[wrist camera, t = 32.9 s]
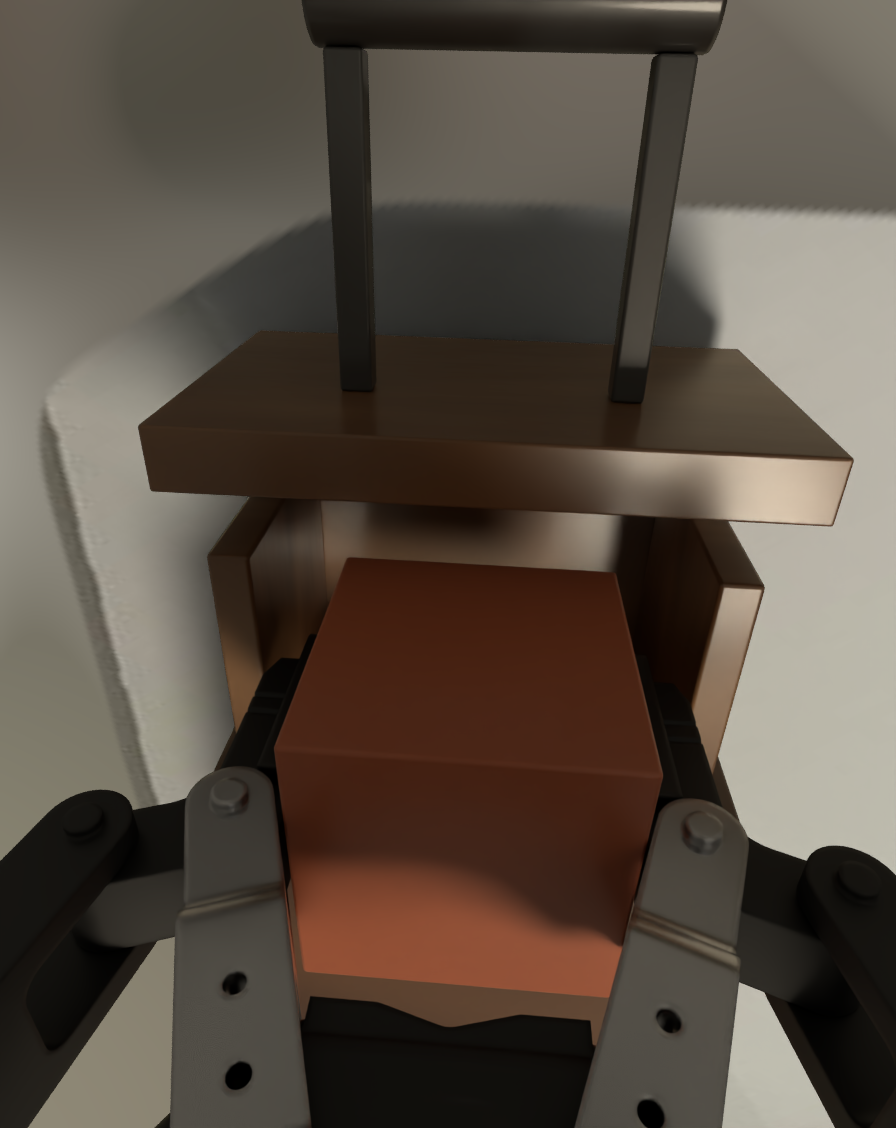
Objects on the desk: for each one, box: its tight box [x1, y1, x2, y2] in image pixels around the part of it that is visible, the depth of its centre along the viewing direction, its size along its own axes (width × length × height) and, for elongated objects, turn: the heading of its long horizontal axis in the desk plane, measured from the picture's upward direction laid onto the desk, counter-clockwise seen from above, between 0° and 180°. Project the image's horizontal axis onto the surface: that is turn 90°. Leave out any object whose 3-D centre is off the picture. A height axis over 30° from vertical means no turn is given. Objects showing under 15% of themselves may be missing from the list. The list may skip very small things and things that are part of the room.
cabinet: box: [214, 727, 740, 1045], centre depth 23 cm, size 15×13×9 cm
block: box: [274, 557, 663, 998], centre depth 13 cm, size 5×5×5 cm
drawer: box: [138, 0, 854, 775], centre depth 16 cm, size 20×11×7 cm, turn 179°
